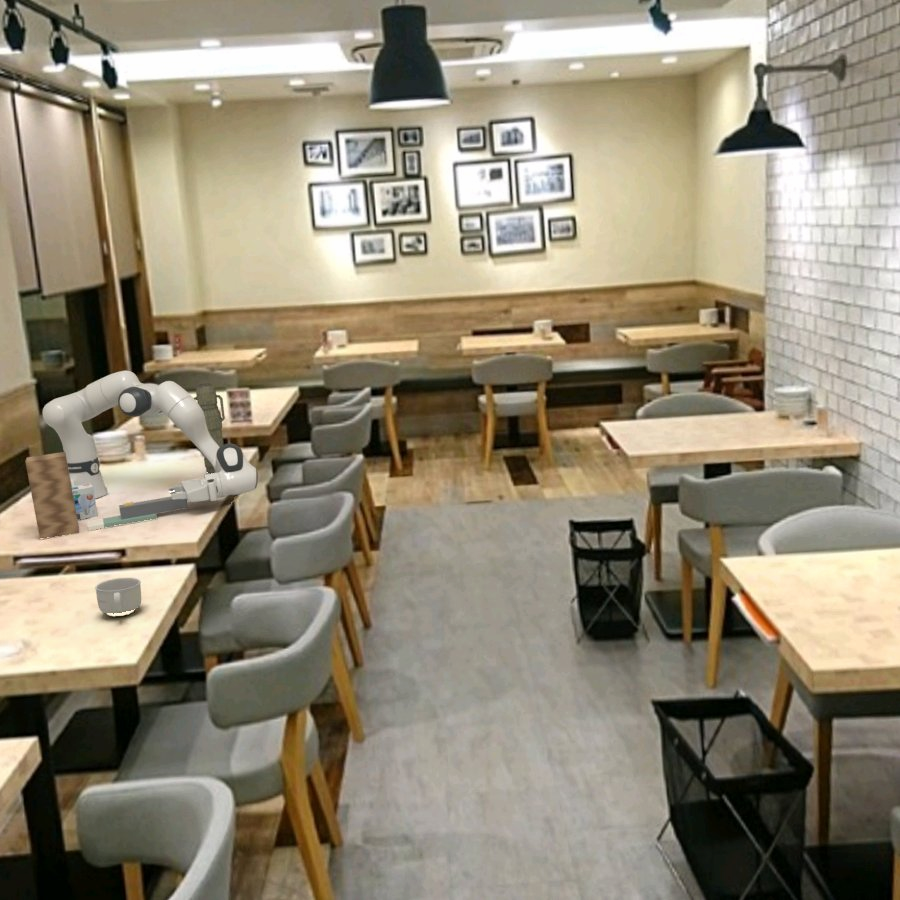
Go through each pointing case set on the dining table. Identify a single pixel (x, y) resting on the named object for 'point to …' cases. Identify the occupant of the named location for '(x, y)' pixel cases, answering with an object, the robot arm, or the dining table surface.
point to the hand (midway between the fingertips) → (170, 494)
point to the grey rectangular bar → (151, 507)
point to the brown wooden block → (52, 495)
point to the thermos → (211, 415)
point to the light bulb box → (84, 501)
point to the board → (116, 521)
